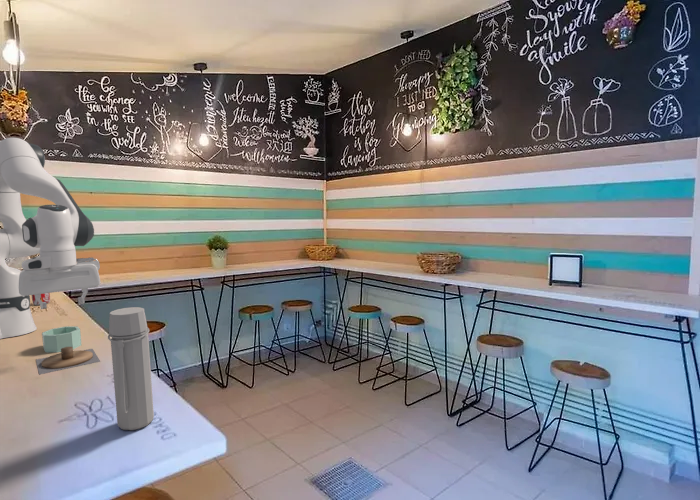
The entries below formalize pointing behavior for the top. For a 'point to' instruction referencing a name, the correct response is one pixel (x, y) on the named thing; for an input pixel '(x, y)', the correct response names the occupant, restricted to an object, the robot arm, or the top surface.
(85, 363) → the rubber mat
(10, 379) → the top surface
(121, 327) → the water bottle
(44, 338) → the ceramic bowl
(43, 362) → the walnut lid
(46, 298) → the soda can
